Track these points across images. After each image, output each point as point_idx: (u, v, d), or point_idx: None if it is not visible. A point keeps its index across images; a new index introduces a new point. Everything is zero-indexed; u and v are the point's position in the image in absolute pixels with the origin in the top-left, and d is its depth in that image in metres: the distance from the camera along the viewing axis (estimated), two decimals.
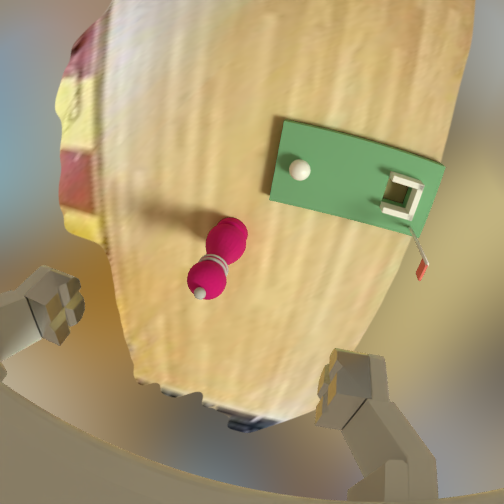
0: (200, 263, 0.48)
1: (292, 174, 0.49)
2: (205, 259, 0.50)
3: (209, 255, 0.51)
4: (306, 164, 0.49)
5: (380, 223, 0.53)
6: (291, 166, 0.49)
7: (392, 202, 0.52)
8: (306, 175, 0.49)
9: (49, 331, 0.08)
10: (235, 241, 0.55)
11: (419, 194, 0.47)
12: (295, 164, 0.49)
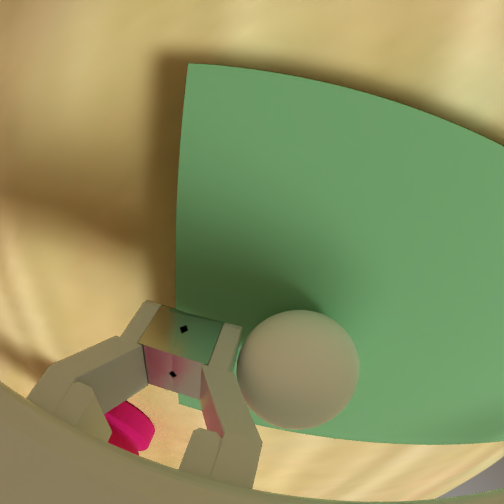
0: None
1: (257, 414, 0.08)
2: None
3: None
4: (344, 361, 0.07)
5: None
6: (248, 377, 0.08)
7: None
8: (338, 413, 0.08)
9: (165, 378, 0.08)
10: None
11: None
12: (272, 371, 0.07)
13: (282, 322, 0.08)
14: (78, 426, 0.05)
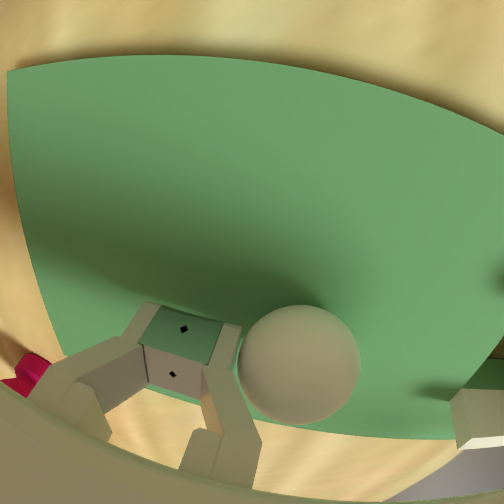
0: None
1: None
2: None
3: None
4: (272, 330, 0.08)
5: (433, 434, 0.13)
6: None
7: (491, 372, 0.11)
8: (237, 362, 0.09)
9: (165, 378, 0.08)
10: None
11: None
12: (306, 306, 0.09)
13: (342, 325, 0.08)
14: (78, 426, 0.05)
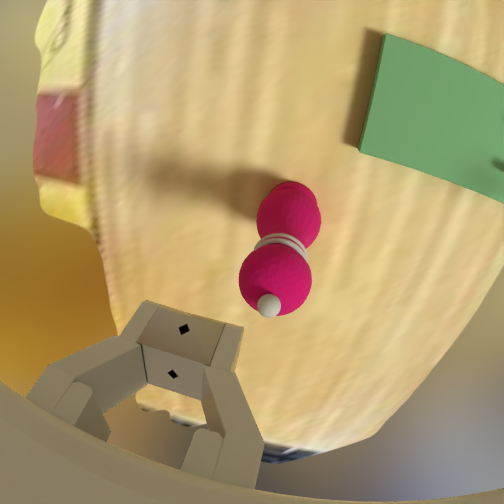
0: (266, 248, 0.25)
1: None
2: (270, 242, 0.28)
3: (276, 235, 0.28)
4: None
5: (500, 197, 0.31)
6: None
7: None
8: None
9: (164, 378, 0.08)
10: (310, 215, 0.33)
11: None
12: None
13: None
14: (77, 425, 0.05)
